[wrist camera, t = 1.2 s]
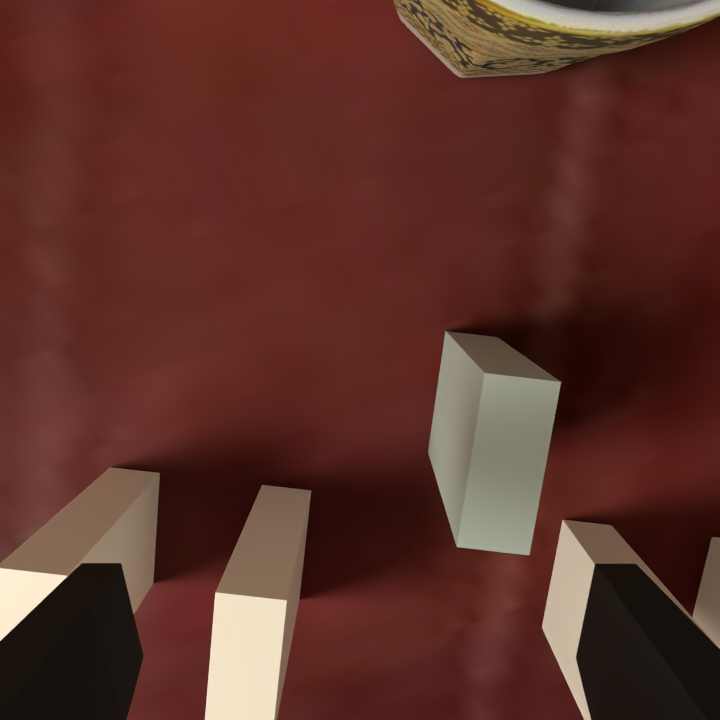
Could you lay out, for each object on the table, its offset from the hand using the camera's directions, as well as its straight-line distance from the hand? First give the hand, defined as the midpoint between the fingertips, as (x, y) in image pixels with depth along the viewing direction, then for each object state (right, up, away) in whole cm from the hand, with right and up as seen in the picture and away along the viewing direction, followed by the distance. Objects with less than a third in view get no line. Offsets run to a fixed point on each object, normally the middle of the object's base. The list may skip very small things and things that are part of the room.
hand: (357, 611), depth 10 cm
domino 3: (+4, +3, +12) cm, 13 cm away
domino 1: (-8, -2, +13) cm, 16 cm away
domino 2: (-3, -3, +13) cm, 14 cm away
